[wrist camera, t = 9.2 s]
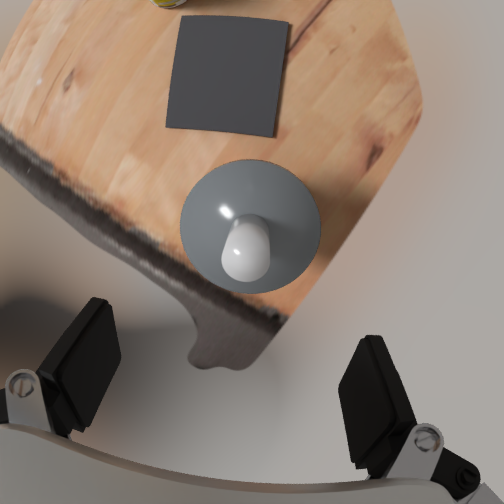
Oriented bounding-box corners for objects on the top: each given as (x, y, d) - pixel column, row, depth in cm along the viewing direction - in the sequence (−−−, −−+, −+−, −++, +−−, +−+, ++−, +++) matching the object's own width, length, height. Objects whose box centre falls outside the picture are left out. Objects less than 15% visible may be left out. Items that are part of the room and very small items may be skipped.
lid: (188, 151, 22) (163, 161, 16) (331, 172, 22) (353, 188, 16) (180, 277, 26) (160, 317, 21) (303, 295, 26) (311, 338, 21)
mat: (182, 17, 25) (181, 15, 25) (288, 23, 25) (288, 22, 25) (166, 127, 31) (165, 127, 30) (272, 137, 31) (272, 137, 31)
